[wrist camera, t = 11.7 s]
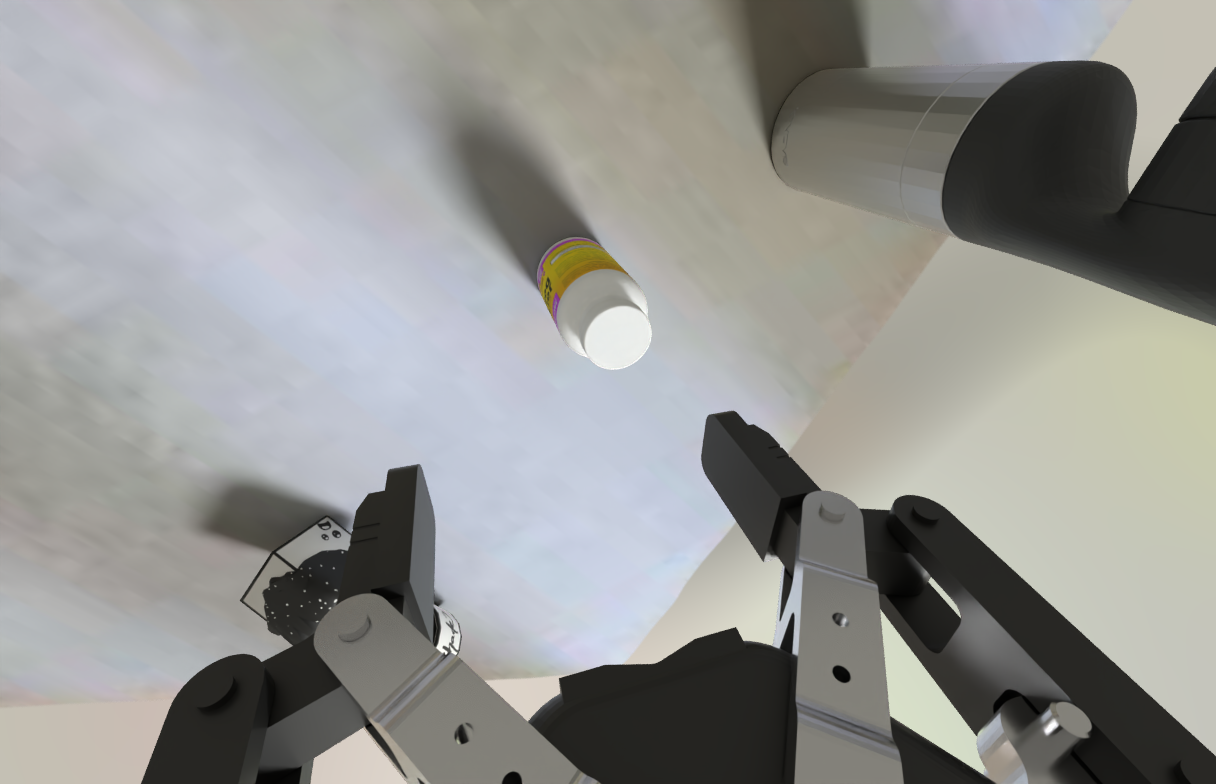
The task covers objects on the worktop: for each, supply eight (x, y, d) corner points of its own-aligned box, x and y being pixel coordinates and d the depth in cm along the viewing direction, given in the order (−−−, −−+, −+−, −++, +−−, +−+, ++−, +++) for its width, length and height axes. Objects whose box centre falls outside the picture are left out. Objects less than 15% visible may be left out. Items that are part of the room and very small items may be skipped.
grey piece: (480, 596, 60) (487, 675, 52) (414, 636, 61) (410, 720, 53) (322, 483, 45) (297, 570, 37) (235, 537, 46) (192, 634, 38)
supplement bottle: (523, 251, 39) (554, 312, 29) (598, 223, 40) (654, 273, 30) (551, 321, 43) (586, 396, 33) (618, 294, 44) (674, 360, 33)
